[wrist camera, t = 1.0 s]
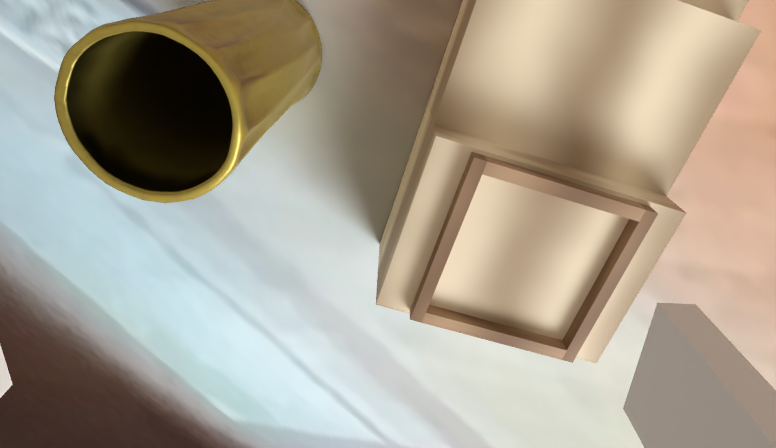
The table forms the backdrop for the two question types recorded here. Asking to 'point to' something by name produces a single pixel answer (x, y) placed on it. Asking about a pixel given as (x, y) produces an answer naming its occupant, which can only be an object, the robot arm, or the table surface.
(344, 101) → the table surface
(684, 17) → the step stand
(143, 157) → the vase
